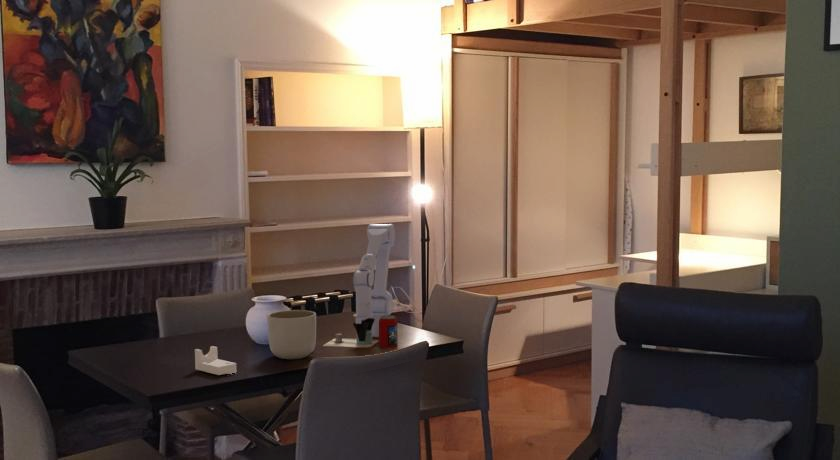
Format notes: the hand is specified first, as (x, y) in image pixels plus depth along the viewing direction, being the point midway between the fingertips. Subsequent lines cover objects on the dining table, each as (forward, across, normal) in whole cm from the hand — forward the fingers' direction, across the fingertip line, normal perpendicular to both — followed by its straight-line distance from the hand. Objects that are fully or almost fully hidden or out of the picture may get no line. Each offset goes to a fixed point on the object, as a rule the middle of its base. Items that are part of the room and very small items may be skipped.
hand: (364, 339), depth 352 cm
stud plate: (+3, 0, -5) cm, 6 cm away
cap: (+1, 0, 0) cm, 1 cm away
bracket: (+3, +48, -36) cm, 60 cm away
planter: (+3, +21, -20) cm, 29 cm away
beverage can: (+3, +3, +10) cm, 11 cm away
